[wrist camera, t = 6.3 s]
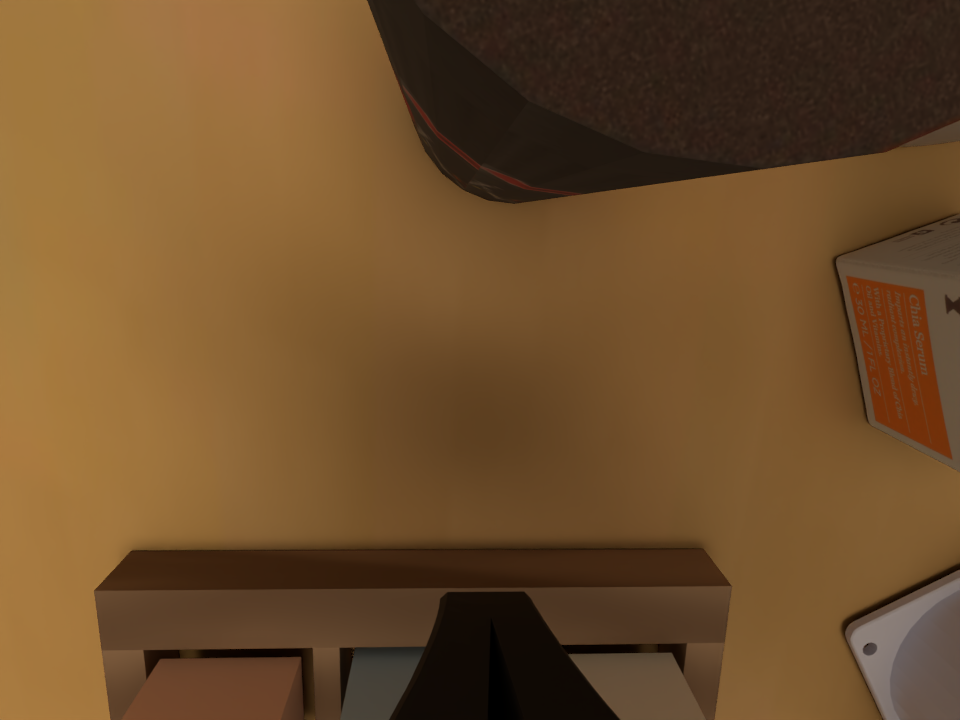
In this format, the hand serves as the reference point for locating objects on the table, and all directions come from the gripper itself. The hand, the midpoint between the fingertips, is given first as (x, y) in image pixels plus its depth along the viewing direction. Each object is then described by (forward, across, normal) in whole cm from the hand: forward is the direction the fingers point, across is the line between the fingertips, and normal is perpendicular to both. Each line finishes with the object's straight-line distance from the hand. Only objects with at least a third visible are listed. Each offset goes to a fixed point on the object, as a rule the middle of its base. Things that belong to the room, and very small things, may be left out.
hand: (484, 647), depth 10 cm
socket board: (+10, +1, +9) cm, 14 cm away
